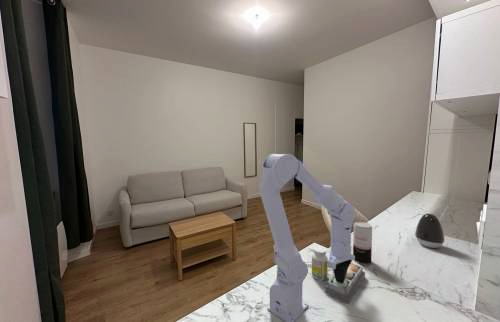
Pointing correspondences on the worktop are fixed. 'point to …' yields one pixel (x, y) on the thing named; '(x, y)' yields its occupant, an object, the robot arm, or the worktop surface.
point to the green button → (340, 283)
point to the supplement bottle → (319, 263)
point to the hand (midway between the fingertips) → (339, 281)
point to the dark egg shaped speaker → (429, 231)
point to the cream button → (349, 274)
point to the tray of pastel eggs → (351, 287)
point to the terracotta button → (353, 268)
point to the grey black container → (362, 242)
